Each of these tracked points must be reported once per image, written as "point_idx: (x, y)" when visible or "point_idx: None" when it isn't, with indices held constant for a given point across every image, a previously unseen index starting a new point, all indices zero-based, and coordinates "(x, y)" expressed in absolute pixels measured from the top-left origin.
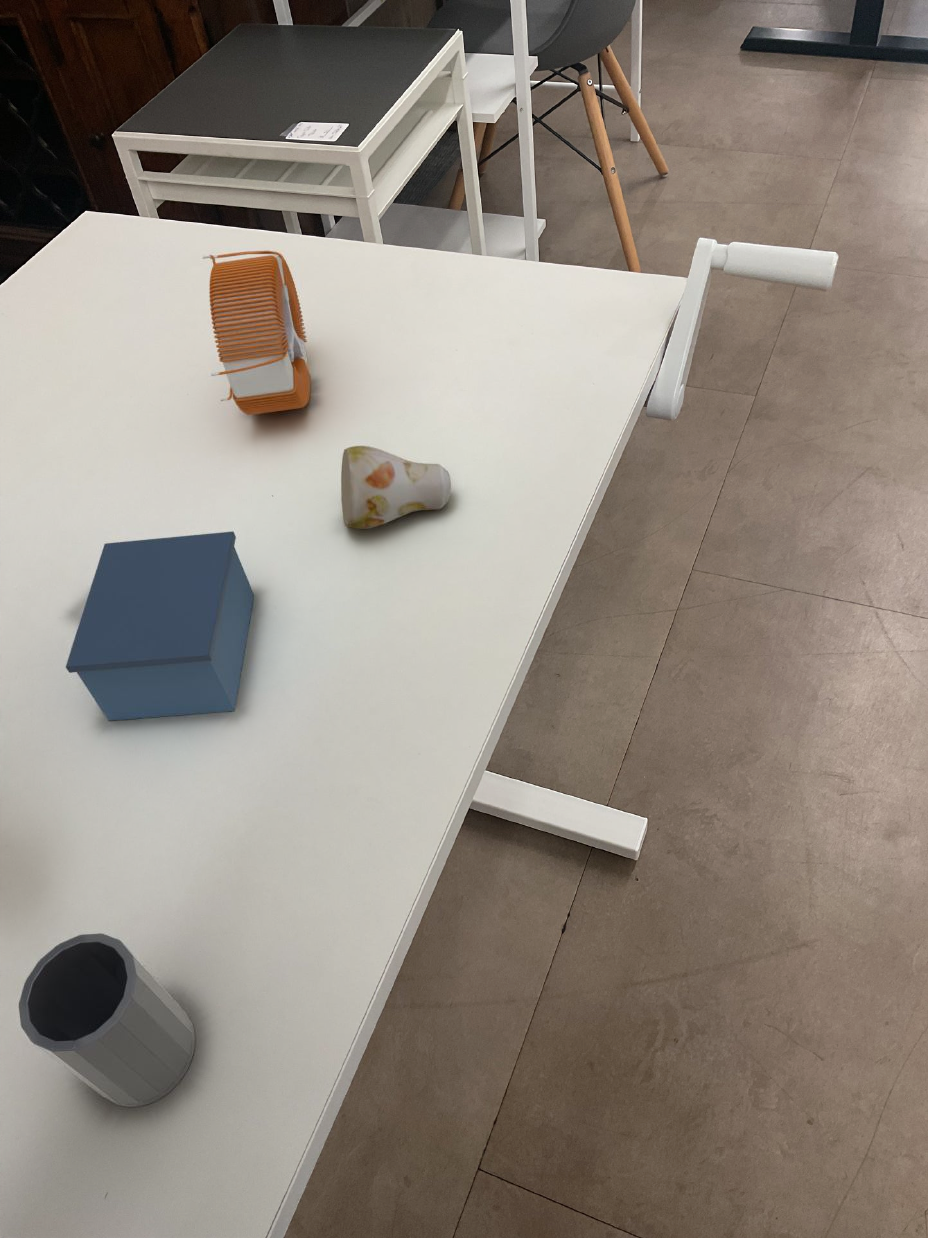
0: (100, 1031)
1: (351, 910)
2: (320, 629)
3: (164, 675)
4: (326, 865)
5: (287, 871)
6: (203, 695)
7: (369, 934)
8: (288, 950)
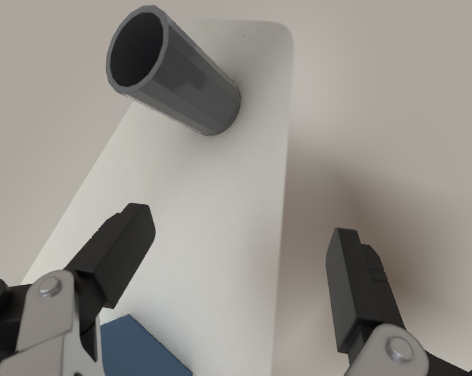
0: (128, 17)
1: (121, 152)
2: None
3: (107, 356)
4: (122, 181)
5: (135, 186)
6: (120, 330)
7: (119, 138)
8: (146, 141)
